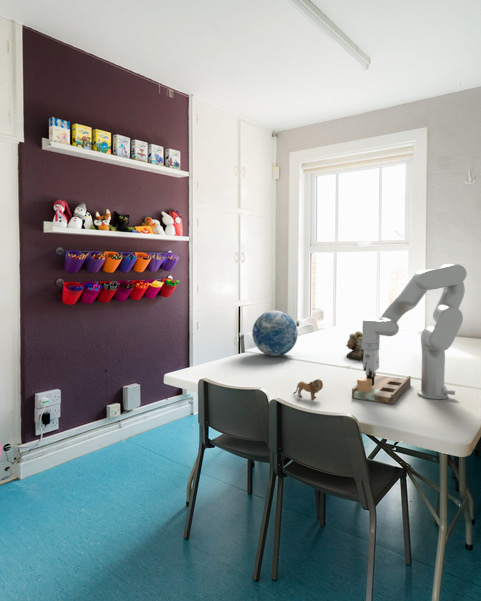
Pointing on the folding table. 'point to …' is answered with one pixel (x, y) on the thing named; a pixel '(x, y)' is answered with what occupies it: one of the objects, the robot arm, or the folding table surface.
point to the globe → (275, 333)
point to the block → (364, 384)
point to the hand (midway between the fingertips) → (370, 385)
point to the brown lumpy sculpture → (355, 346)
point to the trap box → (383, 390)
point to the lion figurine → (310, 387)
